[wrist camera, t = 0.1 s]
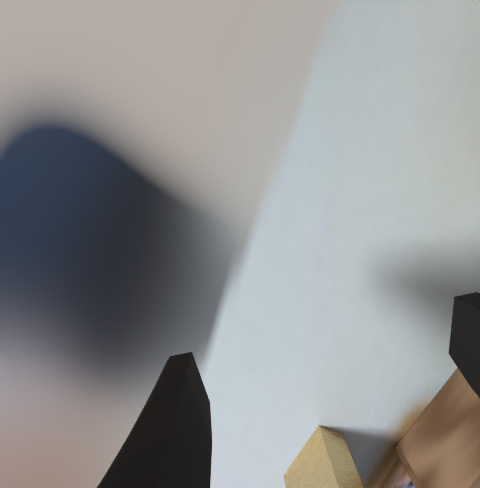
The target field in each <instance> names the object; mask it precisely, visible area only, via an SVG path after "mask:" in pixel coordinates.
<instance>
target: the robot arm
mask: <svg viewBox="0 0 480 488" xmlns="http://www.w3.org/2000/svg"><path fill="white" fill-rule="evenodd" d="M449 354H450V356H451V358H452V359H453V361H454V362H455V364H456V366H457V367H458V369H459V370H460V372H461V373H462V375H463V376H464V378H465V379H466V381H467V382H468V384H469V385H470V387H471V388H472V389H473V391H474V392H475V393H476V394H477V396H478V397H479V398H480V293H478V292H476V293H471V294H466V295H462V296H457V297H454V306H453V316H452V326H451V336H450V346H449ZM211 455H212V430H211V413H210V401H209V399H208V396H207V393H206V390H205V387H204V385H203V382H202V379H201V376H200V373H199V371H198V368H197V365H196V362H195V359H194V357H193V354H192V352H190V353H184V354H180V355H175V356H170V357H169V359H168V360H167V362H166V364H165V366H164V368H163V370H162V372H161V374H160V376H159V379H158V381H157V383H156V385H155V387H154V389H153V391H152V393H151V395H150V397H149V398H148V400H147V402H146V405H145V406H144V408H143V410H142V412H141V414H140V415H139V417H138V419H137V421H136V423H135V425H134V427H133V428H132V430H131V432H130V434H129V436H128V438H127V439H126V441H125V443H124V444H123V446H122V448H121V449H120V451H119V453H118V454H117V456H116V458H115V459H114V461H113V463H112V464H111V466H110V468H109V469H108V471H107V473H106V475H105V476H104V478H103V479H102V481H101V482H100V484H99V485H98V487H97V488H210V477H211Z"/></svg>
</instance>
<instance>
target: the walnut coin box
mask: <svg viewBox="0 0 480 488" xmlns="http://www.w3.org/2000/svg"><path fill="white" fill-rule="evenodd" d="M394 449H395V451H396V453H397V455H398V457H399V459H400V461H401V462H402V464H403V466H404V468H405V470H406V472H407V473H408V475H409V477H410V479H411V481H412V483H413V485H414V486H415V488H480V398H479V397H478V396H477V394H476V393H475V392H474V391H473V389H472V388H471V387H470V385H469V384H468V382H467V381H466V379H465V378H464V376H463V375H462V373H461V372H460V370H459V369H458V368H457V370H456V371H455V372H454V374H453V375H452V376H451V377H450V379H449V380H448V381H447V382H446V384H445V385H444V386H443V387H442V389H441V390H440V391H439V393H438V394H437V395H436V396H435V398H434V399H433V400H432V401H431V403H430V404H429V405H428V406H427V408H426V409H425V410H424V412H423V413H422V414H421V415H420V417H419V418H418V419H417V420H416V422H415V423H414V424H413V425H412V427H411V428H410V429H409V430H408V432H407V433H406V434H405V436H404V437H403V438H402V439H401V441H400V442H399V443H398V444H397V446H396V447H395V448H394Z"/></svg>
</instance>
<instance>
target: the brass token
mask: <svg viewBox="0 0 480 488" xmlns="http://www.w3.org/2000/svg"><path fill="white" fill-rule="evenodd" d="M284 479H285V485H286V488H364V487H363V484H362V482H361V479H360V477H359V474H358V471H357V469H356V466H355V464H354V461H353V459H352V456H351V454H350V451H349V449H348V446H347V444H346V441H345V438H344V436H343V435H342V434H340V433H337V432H335V431H332V430H329V429H327V428H324V427H322V426H318V427H317V428H316V430H315V431H314V433H313V434H312V436H311V437H310V439H309V440H308V441H307V443H306V444H305V446H304V447H303V449H302V450H301V451H300V453H299V454H298V456H297V457H296V459H295V460H294V461H293V463H292V464H291V466H290V467H289V469H288V470H287V472H286V473H285V474H284Z"/></svg>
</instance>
